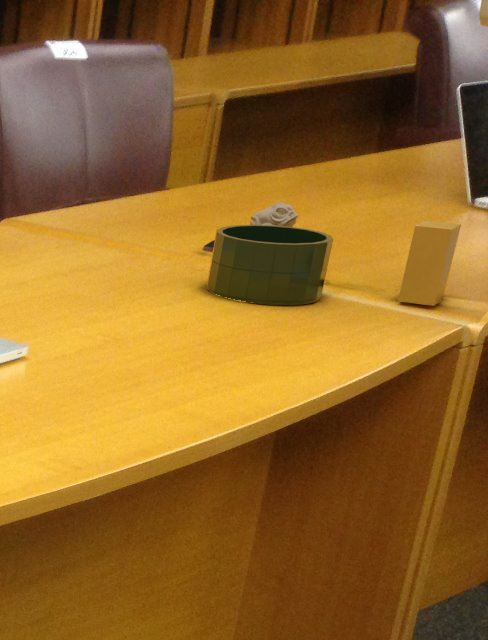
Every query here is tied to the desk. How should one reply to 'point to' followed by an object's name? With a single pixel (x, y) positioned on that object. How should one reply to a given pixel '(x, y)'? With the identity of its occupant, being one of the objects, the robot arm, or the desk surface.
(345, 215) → the desk surface
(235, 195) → the desk surface
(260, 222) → the frog figurine
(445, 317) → the desk surface
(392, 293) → the desk surface
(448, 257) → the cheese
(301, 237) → the pot
